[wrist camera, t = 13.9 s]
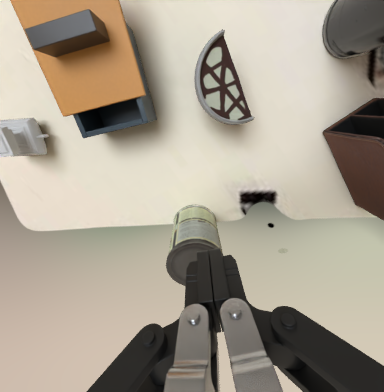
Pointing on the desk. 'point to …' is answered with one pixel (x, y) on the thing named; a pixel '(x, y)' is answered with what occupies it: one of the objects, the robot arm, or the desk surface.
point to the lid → (82, 51)
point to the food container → (220, 84)
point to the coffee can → (190, 239)
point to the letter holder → (361, 154)
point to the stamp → (21, 138)
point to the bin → (118, 109)
